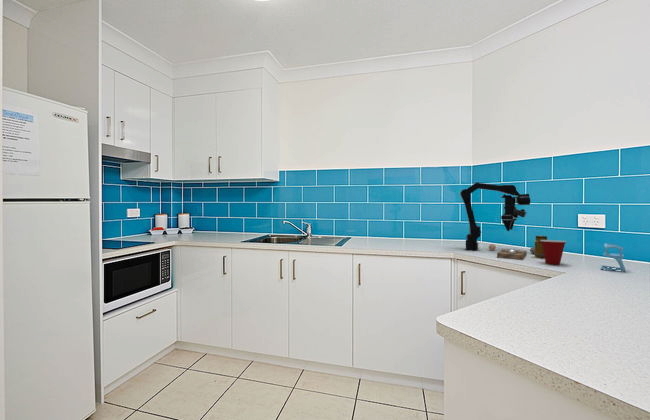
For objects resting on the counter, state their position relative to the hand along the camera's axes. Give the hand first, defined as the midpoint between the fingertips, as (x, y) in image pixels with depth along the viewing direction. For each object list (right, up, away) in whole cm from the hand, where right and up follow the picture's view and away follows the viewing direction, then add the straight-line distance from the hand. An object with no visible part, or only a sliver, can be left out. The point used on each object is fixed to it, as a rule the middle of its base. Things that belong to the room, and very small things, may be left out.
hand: (509, 230), depth 189 cm
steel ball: (-9, -12, -16) cm, 22 cm away
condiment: (+5, -14, -21) cm, 26 cm away
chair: (+16, -15, -50) cm, 55 cm away
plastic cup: (0, -15, -36) cm, 39 cm away
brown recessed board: (-8, -14, -16) cm, 23 cm away
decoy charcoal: (+9, -11, -9) cm, 17 cm away
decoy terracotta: (-8, -11, +5) cm, 15 cm away
